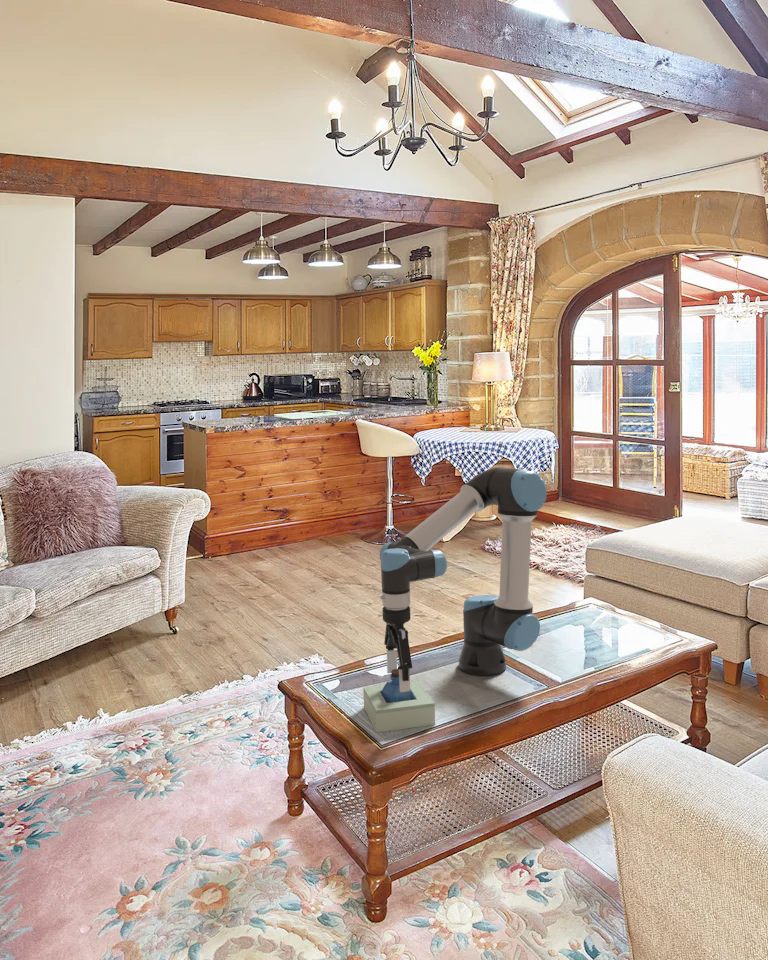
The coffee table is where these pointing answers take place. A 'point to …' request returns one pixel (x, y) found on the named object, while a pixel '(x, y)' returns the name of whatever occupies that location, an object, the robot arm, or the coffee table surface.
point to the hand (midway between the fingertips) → (398, 681)
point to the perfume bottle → (395, 690)
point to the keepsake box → (399, 709)
